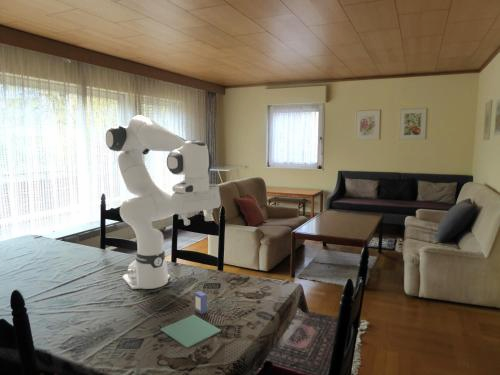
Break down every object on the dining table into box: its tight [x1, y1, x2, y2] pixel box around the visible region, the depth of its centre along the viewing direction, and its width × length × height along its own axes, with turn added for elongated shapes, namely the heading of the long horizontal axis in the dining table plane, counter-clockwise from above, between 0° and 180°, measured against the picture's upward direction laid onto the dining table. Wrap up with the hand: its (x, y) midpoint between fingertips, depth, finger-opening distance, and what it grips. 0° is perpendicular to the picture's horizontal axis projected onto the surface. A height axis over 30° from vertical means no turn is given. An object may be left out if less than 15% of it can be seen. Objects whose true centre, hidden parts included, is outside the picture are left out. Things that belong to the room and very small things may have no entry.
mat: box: [159, 314, 222, 349], centre depth 122 cm, size 15×14×1 cm
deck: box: [194, 290, 208, 315], centre depth 136 cm, size 4×2×7 cm, turn 46°
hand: (197, 222), depth 133 cm, fingers open, 8 cm apart
